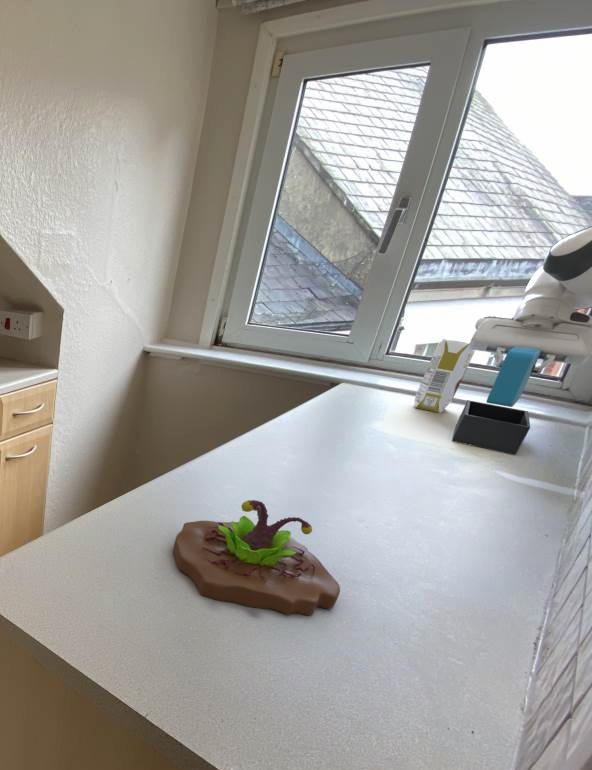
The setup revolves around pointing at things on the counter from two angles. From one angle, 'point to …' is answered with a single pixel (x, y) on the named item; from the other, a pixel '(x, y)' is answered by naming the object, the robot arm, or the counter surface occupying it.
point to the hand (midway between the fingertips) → (518, 369)
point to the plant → (254, 564)
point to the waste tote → (492, 427)
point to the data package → (513, 376)
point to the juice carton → (444, 374)
